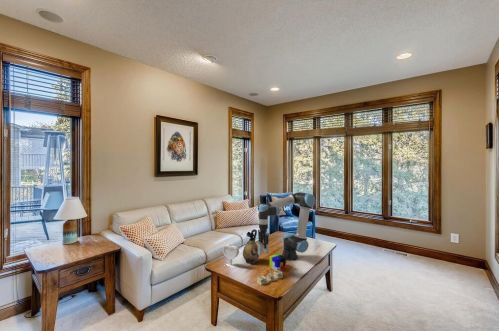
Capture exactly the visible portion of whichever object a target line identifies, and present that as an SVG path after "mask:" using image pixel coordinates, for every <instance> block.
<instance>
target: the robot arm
mask: <svg viewBox="0 0 499 331" xmlns="http://www.w3.org/2000/svg"><path fill="white" fill-rule="evenodd" d="M295 204H296V205H298V207H299V216H298V222H297V226H296V233H295V232H294V233H293V232H292V233H291V232H289V233H284V234H283V238H282V239H283V250H282V252H281V255H282V256H284V257H286V261H296V260H297V259H298V254H297V252H299V253H301V254H303V253H306V251H307V250H309V249H308V248H309V242H308V240H307V239H308V237H307V236H306V235H307V228H308V223H309V215H310V210H312V208H313V207H314V206H315V205H316V198H315V196H314V194H312V193H307V192H301V191H299V192H295V193H291V194H289V195H287V196H286V197H285V196H284V197H282V198H279V199H277V200H274V201H271V202H268V203H260V204H259V206H258V228H259V229H257V234H258V243H260V242H264V244H263V248H262V254H263V253H264V252H266V245H267V244H268V242H269V238H270V232H268V228H269V217H273V216H278V215H280V214H281V208H283V207H286V206H289V205H295ZM264 254H265V253H264Z"/></svg>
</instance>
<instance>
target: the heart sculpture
mask: <svg viewBox="0 0 499 331" xmlns="http://www.w3.org/2000/svg"><path fill="white" fill-rule="evenodd" d="M222 253H223V255H224V257H226V259H227V260H229V261H228V263H227V264H226V263H225V264H226V265H227V266H226V267H228V266H230V267H229V268H232V267H233V269H236V268H235V267H237V268H238V265H234V264H233V260H234V259H235V258H237V257H238V256H239V253H240V248H239V247H238V246H236V245H231V244H225V245H223V246H222Z"/></svg>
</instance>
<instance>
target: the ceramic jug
mask: <svg viewBox="0 0 499 331" xmlns="http://www.w3.org/2000/svg"><path fill="white" fill-rule="evenodd" d="M257 234H258V229H254V228H253V229H252V230H251V232H250V231H248V232H247V233H246V237H247V238H248V237H249V240H248V241H247V242H246V243H245V245H244V247H243V249H242V256H243V259H244V261H245V263H247V264H255V263H256V261H257V260H258V258H259V257H260V255H258V243H257V242H256V238H257Z"/></svg>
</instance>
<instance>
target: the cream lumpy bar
mask: <svg viewBox="0 0 499 331" xmlns="http://www.w3.org/2000/svg"><path fill="white" fill-rule="evenodd" d="M283 277H284V273H283V271H282V270H280V271H279V270H278V271H275V270H274V271H273V274H272V273H267V274H266V276H264V275H260V276H257V277H256V283H257V284H259V285H260V286H263V285H266V284H269V283H272V282H274V281H277V280H280V279H282V278H283Z"/></svg>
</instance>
